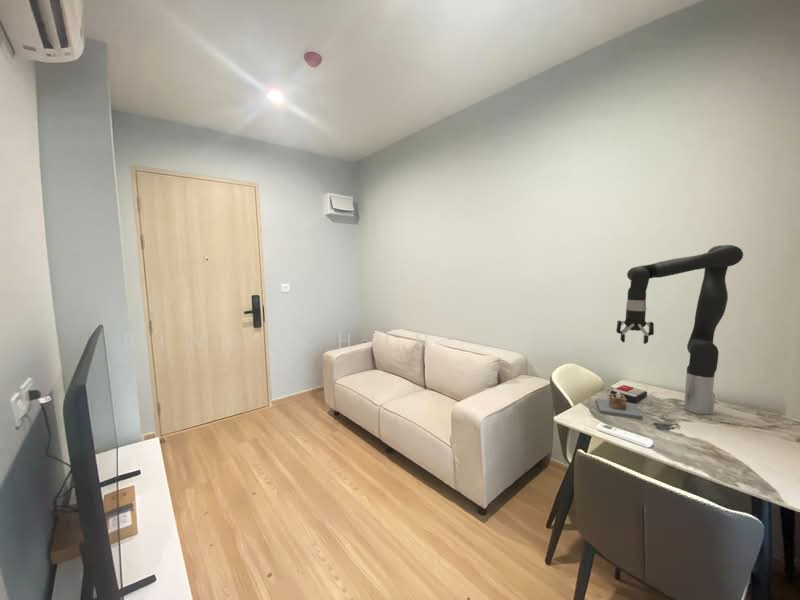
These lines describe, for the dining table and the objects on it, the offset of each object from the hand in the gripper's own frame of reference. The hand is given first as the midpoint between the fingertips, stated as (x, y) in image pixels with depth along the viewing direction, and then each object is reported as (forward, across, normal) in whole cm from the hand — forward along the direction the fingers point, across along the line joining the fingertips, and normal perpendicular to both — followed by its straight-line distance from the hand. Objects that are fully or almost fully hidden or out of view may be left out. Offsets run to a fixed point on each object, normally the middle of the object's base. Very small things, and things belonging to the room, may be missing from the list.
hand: (633, 342), depth 154 cm
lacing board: (+30, +7, +11) cm, 33 cm away
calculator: (+31, -1, -9) cm, 32 cm away
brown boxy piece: (+29, +7, +11) cm, 31 cm away
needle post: (+28, +7, +11) cm, 31 cm away
